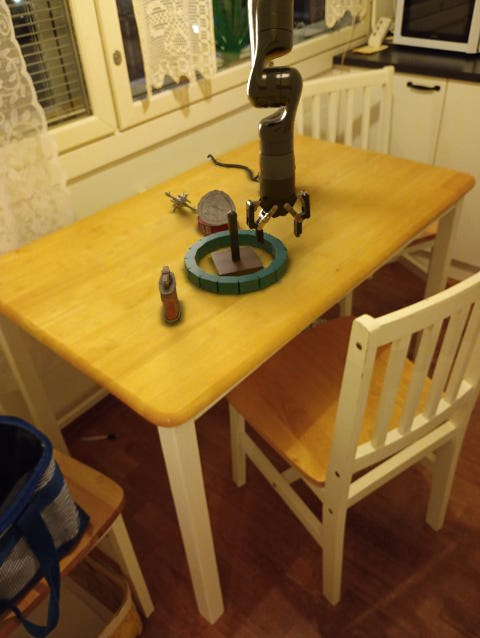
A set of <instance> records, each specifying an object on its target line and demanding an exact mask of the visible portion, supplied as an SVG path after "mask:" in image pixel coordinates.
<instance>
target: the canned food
mask: <svg viewBox="0 0 480 638" xmlns="http://www.w3.org/2000/svg"><path fill="white" fill-rule="evenodd" d="M196 209H197V211H196V212H197V216H196V220H197V229H198V232H200V233H201V234H202V235H205V236H209V235H211V234H213V233H214V234H216V233H217V232H222V231H227V230H229V226H228V218H227V214H228V212H229V211H235V212H236V209H237V207H236V204H235V203H234V200H233V199H232V198H231V196H230V195H229V194H228V193H226V192H225V191H224V190H219V189H213V190H209V191H208V192H207V193H205V194H204V195H203V196H201V197H200V199H199V201H198V203H197V207H196Z"/></svg>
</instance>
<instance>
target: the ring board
mask: <svg viewBox="0 0 480 638" xmlns="http://www.w3.org/2000/svg"><path fill="white" fill-rule="evenodd" d="M227 218H228V226H229V237H230V246H229V247H230V248H228V249H224V250H218V251H214V252H213V251H212V252H209V256H210V260H211V263H212V264H213V265H212V266H213V267H214V269H215V272H216V275H218V276H235V277H238V276H243V275H248V274H253V273H256V272H258V271H260V270H262V269H264V265H263V263H262V262H261V259H260V258H259V256H258V254H257V253H256V252H255V250H254V248H253V246H251V245H243V246H240V245H239V237H238V230H239V226H238V213H237V212H236V210H235V211H229V212H228V214H227Z"/></svg>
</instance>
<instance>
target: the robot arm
mask: <svg viewBox="0 0 480 638" xmlns="http://www.w3.org/2000/svg"><path fill="white" fill-rule="evenodd" d="M246 1H247V2H246V6H247V22H248V23H247V24H248V31H249V32H248V33H249V34H248V35H249V45H250V73H249V77H248V82H247V87H246V96H247V99H248V102H249V103H250V105H251V107H253V108H255V109H277V110H276V111H274V112H273V113H271V114H270V115H267V116H265V117H263V118H262V119H261V120H259V122H258V125H257V126H258V128H257V129H258V144H259V145H258V148H259V149H258V150H259V153H258V154H259V156H258V169H259V170H258V171H257V174H256V175H255V176H253V173H252V171H251V168H249V167H248V166H246V165H244V164H243V165H242V164H238V163H237V164H236V163H224V162H220V161H217V159H215V157H214V156H213V155H212V154H211V153H210V154H209V153H208V154H207V156H206V158H207V159H211V160H212V161H213V163H214V164H216V165H218V166H221V167H228V168H229V167H230V168H231V167H232V168H240V169H244V170H246V171H247V173H248V176H249V179H250V180H251V181H256V180H257V181H258V183H259V193H260V197H259V199H258V200H253V201H252V200H251V199H247V200H246V202H245V213H246V214H245V221H246V222H245V224H246V225H247V227H248V230H255V233H256V239H257V241H258V243H260V244H261V245H262V244H264V232H265V231H264V227H265V225H266V224H268V223H269V221H270V220H271V219H276V218H278V217H287V215H289V214H290V216H292V217H293V218H294V219H293V235H294V236H295V238H300V237H301V235H302V234H303V221H305V220H309V219H311V215H312V214H311V197H310V194H309V193H308V192H307V191H306V190H305V189H302V190H301V191H300V192H298V193H296V169H297V167H296V166H297V165H296V157H295V137H294V136H295V122H296V116H297V111H298V108H299V105H300V101H301V97H302V93H303V90H304V80H303V75H302V74H301V72H300V71H299V69H297V68H296V67H293V66H289V65H277V66H268V65H269V63H270V62H272V61H273V60H276V59H279V58H281V57H284V56H287V55H289V54H290V53H291V52H292V50H293V48H294V2H295V0H246ZM298 201H299V203H300V206H301V207H300V208H301V212H297V210H296V209H295V208H294V205H295V204H296V203H297V202H298ZM259 207H260V208H261V210H260V212H259V213H258V217H257V218H255V217H256V215H255V213H256V212H257V210H258V208H259Z"/></svg>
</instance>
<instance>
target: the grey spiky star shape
mask: <svg viewBox="0 0 480 638" xmlns="http://www.w3.org/2000/svg"><path fill="white" fill-rule="evenodd" d="M188 195H189V193H186V191H185V190H184V191H183V192H182V194H181V195H180V194H177V196H173V195H172V194H171V191H170V190H169V191H168V192H167V191H165V196H167V197H168V198H170V202H171V203H172V204H173V205H174V208H173V209H172V212H173V213H174V212H175V211H176V210H177V209H181V208H183V207H184V208H188V209H190V210H191V211H192V212H194V213H196V212H197V208H196V206H191V205H190V204H192V202H191V200H189V199H188Z"/></svg>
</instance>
